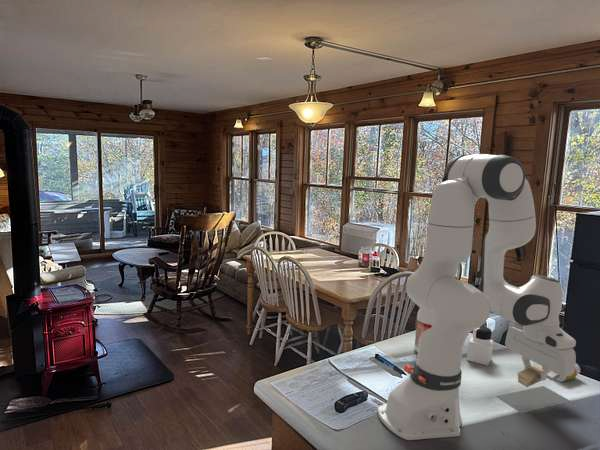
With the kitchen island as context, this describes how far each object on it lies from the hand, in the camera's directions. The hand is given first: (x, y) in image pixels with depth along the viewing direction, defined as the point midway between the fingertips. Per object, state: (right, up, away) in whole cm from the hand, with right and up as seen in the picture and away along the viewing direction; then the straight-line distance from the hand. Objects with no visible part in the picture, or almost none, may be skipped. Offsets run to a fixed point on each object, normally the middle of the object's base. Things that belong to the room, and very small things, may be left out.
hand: (534, 375), depth 122 cm
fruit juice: (-22, -3, +32) cm, 39 cm away
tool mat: (0, -8, +1) cm, 8 cm away
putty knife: (+2, -1, +1) cm, 2 cm away
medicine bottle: (-5, -4, +27) cm, 28 cm away
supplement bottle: (+14, -4, +13) cm, 20 cm away
